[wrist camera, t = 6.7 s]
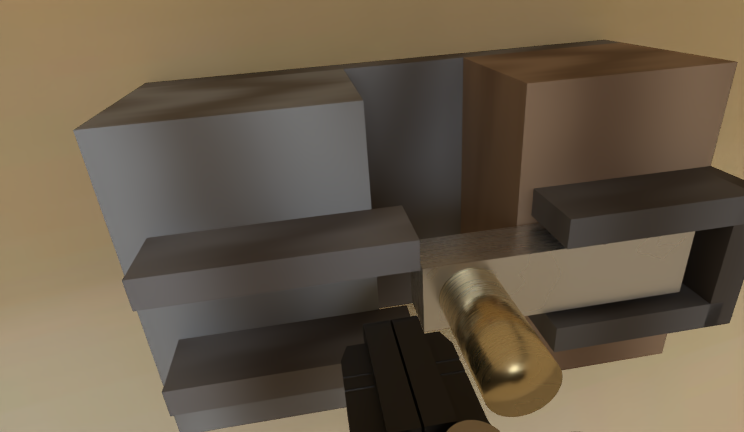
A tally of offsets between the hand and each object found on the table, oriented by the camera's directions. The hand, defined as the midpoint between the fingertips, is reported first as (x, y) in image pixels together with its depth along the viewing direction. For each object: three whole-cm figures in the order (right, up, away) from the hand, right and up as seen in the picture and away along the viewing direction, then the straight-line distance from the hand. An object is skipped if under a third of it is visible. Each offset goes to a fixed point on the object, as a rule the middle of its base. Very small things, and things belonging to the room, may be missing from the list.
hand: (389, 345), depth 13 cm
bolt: (+5, +2, +4) cm, 7 cm away
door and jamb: (+1, +5, +10) cm, 11 cm away
